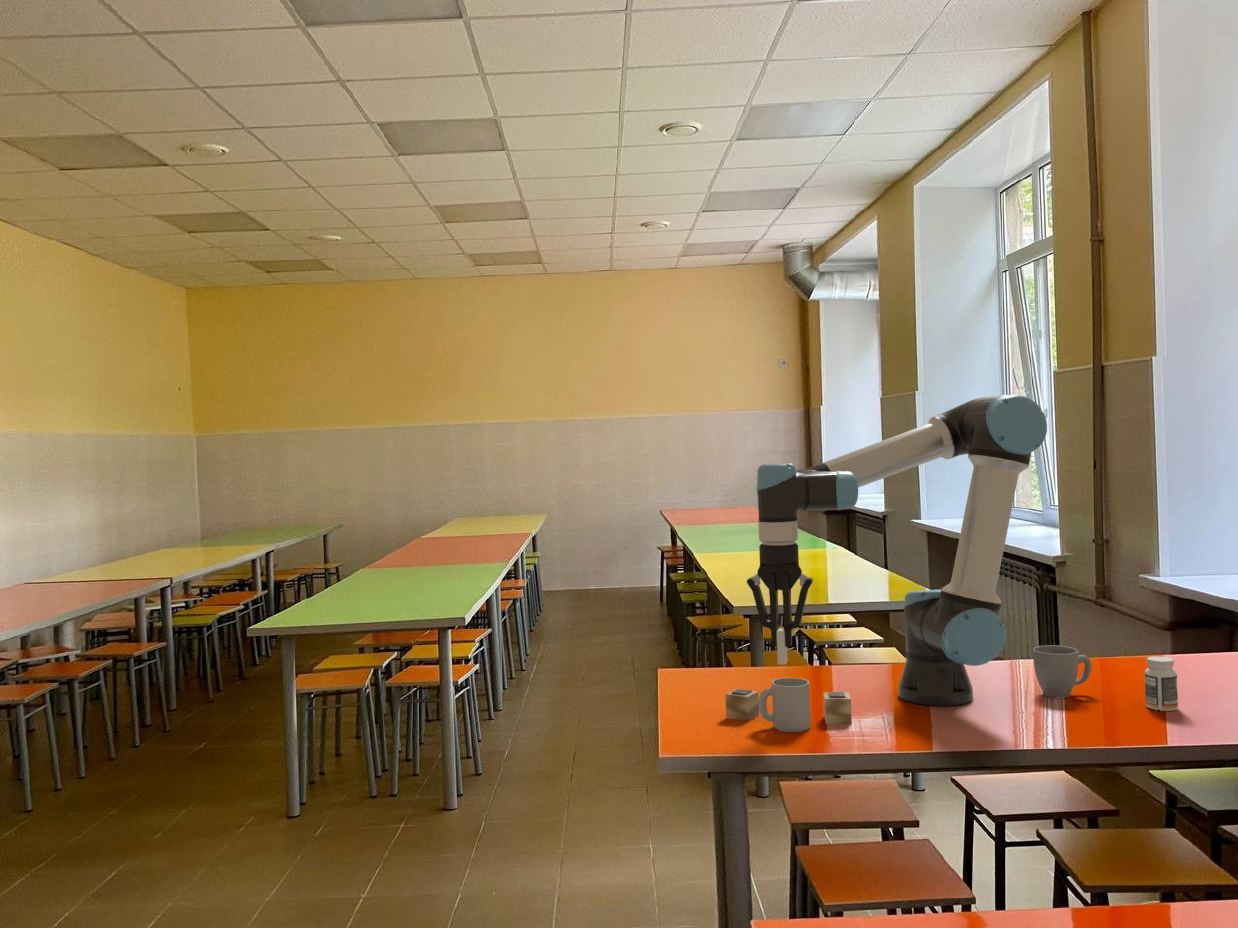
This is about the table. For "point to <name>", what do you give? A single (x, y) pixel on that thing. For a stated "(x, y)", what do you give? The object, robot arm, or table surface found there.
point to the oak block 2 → (837, 708)
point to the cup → (787, 704)
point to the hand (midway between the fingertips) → (782, 663)
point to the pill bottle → (1161, 684)
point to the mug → (1059, 669)
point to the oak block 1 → (742, 704)
